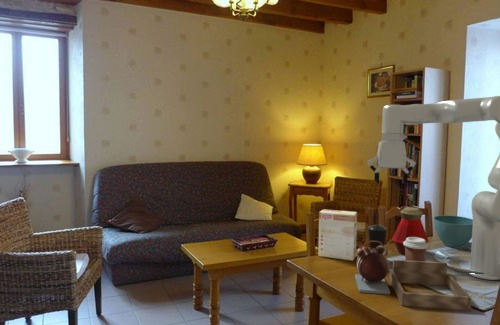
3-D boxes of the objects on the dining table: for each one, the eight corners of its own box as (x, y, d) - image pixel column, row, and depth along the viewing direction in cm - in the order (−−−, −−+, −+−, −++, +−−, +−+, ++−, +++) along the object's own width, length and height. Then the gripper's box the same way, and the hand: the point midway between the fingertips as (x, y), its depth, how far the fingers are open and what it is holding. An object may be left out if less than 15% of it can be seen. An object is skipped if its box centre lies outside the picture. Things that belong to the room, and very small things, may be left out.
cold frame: (448, 284, 140) (449, 262, 139) (470, 310, 120) (472, 285, 120) (389, 281, 143) (390, 259, 142) (401, 305, 123) (402, 280, 123)
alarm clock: (384, 279, 142) (386, 238, 141) (389, 284, 137) (391, 242, 136) (354, 279, 142) (355, 238, 140) (358, 285, 137) (359, 242, 135)
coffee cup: (397, 266, 159) (398, 236, 158) (417, 264, 160) (418, 235, 159) (411, 274, 150) (412, 243, 149) (432, 272, 152) (433, 242, 151)
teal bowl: (483, 251, 178) (485, 224, 177) (443, 250, 178) (444, 224, 177) (462, 239, 196) (464, 215, 195) (426, 239, 196) (427, 215, 195)
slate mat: (382, 278, 145) (382, 275, 145) (390, 294, 132) (390, 291, 132) (354, 276, 147) (354, 274, 147) (359, 292, 133) (359, 289, 133)
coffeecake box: (356, 256, 171) (357, 211, 169) (353, 261, 164) (354, 215, 162) (322, 251, 177) (322, 208, 175) (317, 256, 170) (318, 211, 168)
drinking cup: (364, 257, 169) (365, 211, 168) (381, 256, 170) (383, 210, 168) (371, 263, 162) (372, 215, 160) (389, 262, 162) (390, 214, 161)
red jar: (412, 246, 184) (414, 204, 183) (435, 255, 172) (437, 210, 170) (384, 250, 179) (386, 206, 177) (406, 259, 166) (408, 212, 164)
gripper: (413, 138, 151) (412, 182, 152) (366, 137, 153) (365, 181, 155) (419, 138, 143) (417, 185, 145) (369, 138, 146) (368, 184, 147)
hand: (390, 183), depth 150 cm, fingers open, 9 cm apart
